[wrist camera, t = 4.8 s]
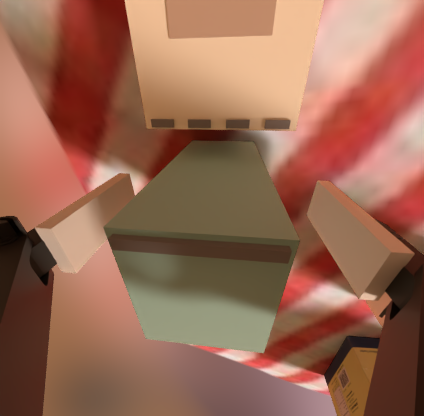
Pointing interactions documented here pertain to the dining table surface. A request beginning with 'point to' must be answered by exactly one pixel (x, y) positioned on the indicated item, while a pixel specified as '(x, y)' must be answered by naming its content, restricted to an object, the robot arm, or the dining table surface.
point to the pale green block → (206, 248)
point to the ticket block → (223, 61)
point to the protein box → (352, 375)
